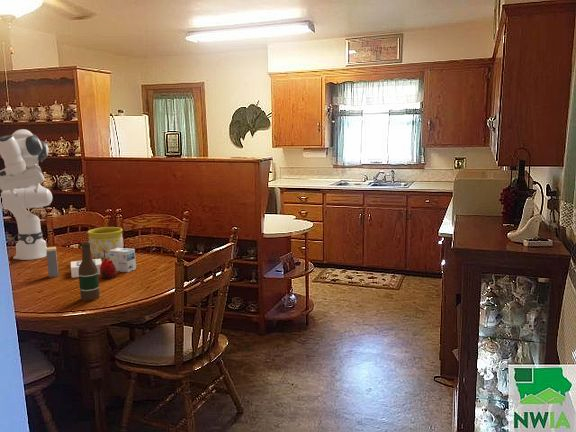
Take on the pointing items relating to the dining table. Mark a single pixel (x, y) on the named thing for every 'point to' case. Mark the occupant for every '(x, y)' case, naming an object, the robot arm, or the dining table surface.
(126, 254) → the light bulb box
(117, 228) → the flowerpot
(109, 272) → the red clay folk toy
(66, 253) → the dining table surface
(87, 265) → the beer bottle
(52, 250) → the plug
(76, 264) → the socket block
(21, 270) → the dining table surface
